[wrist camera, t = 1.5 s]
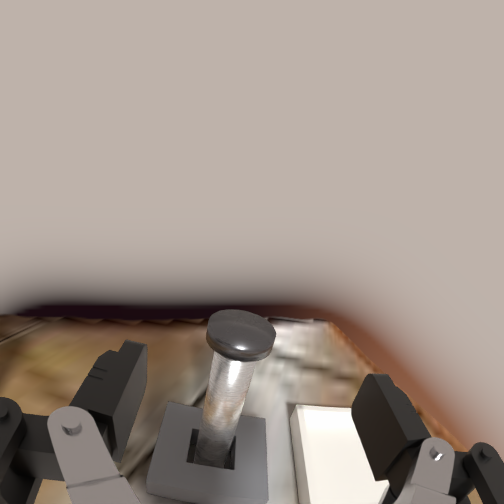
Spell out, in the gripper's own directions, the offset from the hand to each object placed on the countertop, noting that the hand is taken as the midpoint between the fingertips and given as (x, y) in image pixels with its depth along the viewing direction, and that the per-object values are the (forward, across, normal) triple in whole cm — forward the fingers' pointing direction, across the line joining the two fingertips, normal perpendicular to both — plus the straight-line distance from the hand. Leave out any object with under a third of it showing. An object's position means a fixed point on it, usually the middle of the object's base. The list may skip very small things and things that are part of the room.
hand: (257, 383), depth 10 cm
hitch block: (+11, 0, +22) cm, 25 cm away
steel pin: (+11, 0, +22) cm, 25 cm away
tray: (+11, -17, +22) cm, 30 cm away
